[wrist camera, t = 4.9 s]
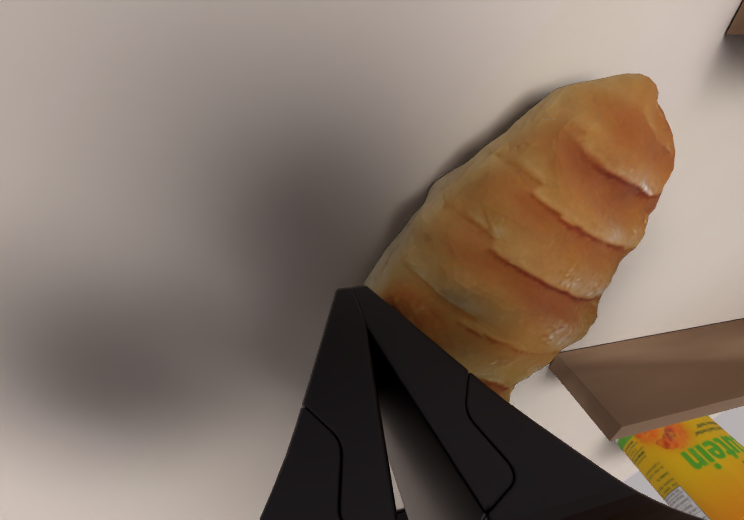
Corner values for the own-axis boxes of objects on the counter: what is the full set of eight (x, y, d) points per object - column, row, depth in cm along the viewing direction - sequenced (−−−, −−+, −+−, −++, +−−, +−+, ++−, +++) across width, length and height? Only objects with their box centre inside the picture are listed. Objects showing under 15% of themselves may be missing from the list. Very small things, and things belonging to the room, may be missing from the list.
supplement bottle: (695, 381, 21) (949, 587, 13) (666, 422, 24) (855, 608, 16) (621, 407, 20) (836, 638, 12) (601, 446, 23) (762, 649, 16)
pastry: (515, 0, 7) (709, -32, 4) (658, 143, 10) (830, 190, 7) (328, 315, 11) (349, 428, 7) (473, 349, 14) (530, 439, 10)
